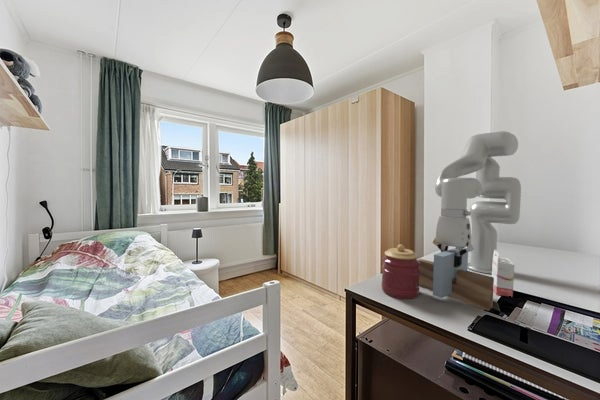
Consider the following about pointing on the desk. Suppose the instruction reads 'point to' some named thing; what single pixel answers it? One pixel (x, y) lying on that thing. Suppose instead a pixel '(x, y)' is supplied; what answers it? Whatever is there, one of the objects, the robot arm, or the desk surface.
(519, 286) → the desk surface
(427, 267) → the slotted board
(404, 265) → the canister
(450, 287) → the cross piece
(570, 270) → the desk surface
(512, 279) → the ink cartridge box
